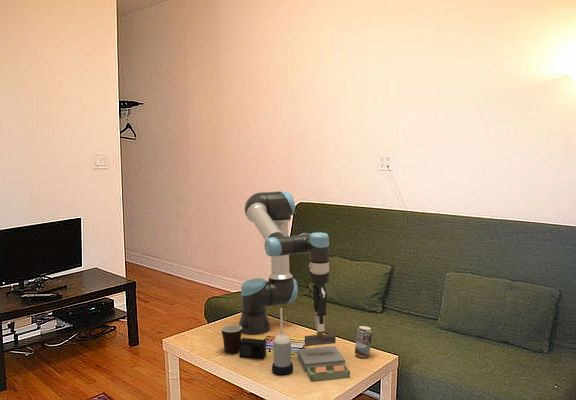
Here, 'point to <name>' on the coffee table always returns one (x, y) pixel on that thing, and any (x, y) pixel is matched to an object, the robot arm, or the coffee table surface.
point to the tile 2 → (338, 368)
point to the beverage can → (363, 341)
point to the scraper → (320, 339)
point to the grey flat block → (319, 356)
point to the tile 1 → (320, 370)
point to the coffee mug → (231, 338)
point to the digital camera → (252, 348)
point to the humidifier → (282, 353)
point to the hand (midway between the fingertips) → (319, 329)
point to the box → (328, 372)
